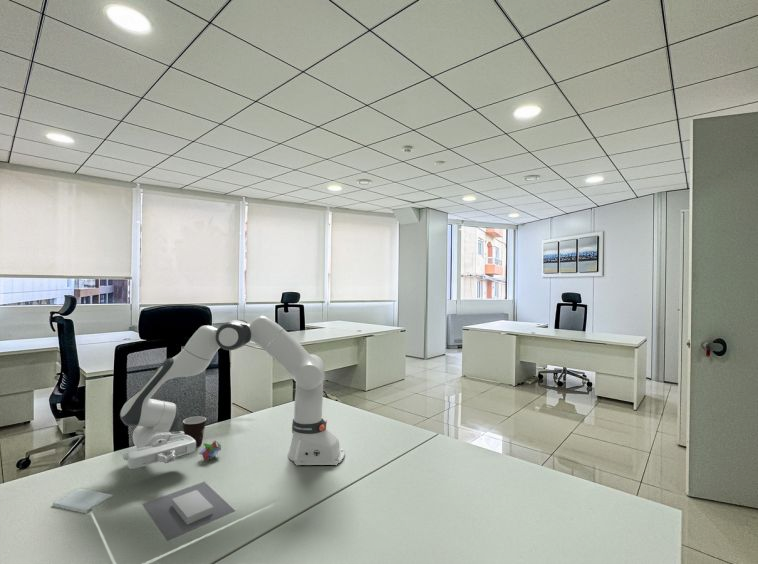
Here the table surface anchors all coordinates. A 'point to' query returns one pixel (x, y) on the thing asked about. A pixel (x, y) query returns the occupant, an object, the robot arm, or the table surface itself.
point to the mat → (171, 519)
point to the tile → (192, 507)
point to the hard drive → (82, 500)
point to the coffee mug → (195, 428)
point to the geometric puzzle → (210, 450)
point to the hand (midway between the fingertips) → (170, 459)
